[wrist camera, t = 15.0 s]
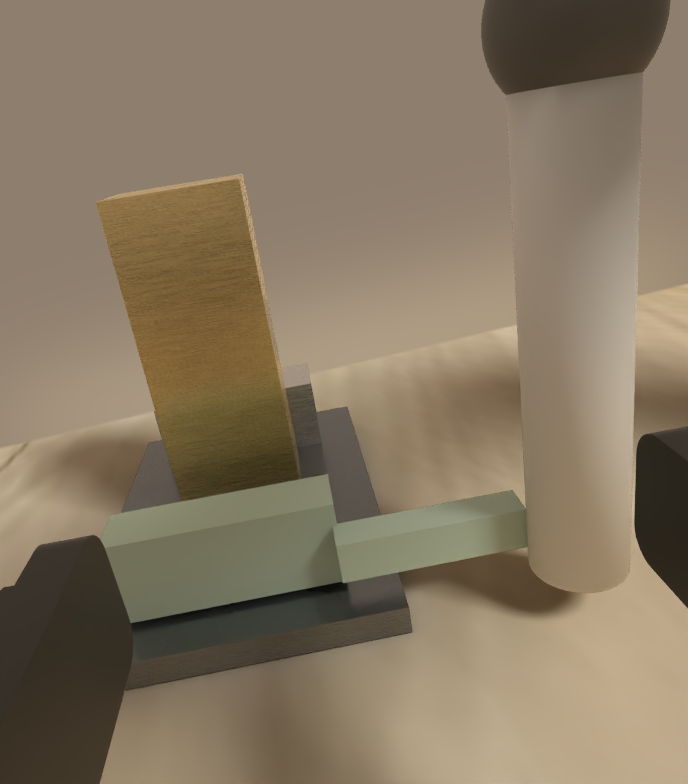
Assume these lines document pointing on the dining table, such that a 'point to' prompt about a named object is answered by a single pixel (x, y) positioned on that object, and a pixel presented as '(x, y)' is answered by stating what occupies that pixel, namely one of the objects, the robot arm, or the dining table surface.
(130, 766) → the dining table surface
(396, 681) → the dining table surface
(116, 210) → the brass block
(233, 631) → the base
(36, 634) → the robot arm
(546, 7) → the sliding jaw
